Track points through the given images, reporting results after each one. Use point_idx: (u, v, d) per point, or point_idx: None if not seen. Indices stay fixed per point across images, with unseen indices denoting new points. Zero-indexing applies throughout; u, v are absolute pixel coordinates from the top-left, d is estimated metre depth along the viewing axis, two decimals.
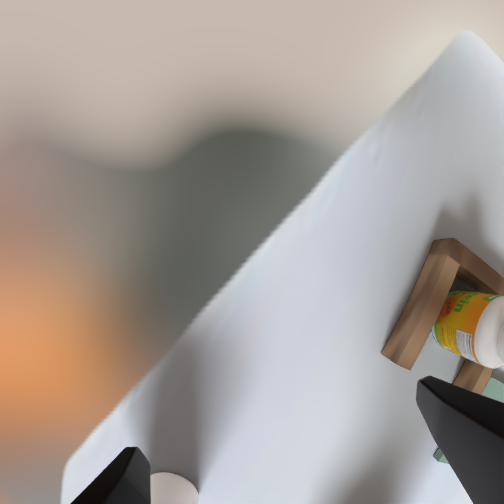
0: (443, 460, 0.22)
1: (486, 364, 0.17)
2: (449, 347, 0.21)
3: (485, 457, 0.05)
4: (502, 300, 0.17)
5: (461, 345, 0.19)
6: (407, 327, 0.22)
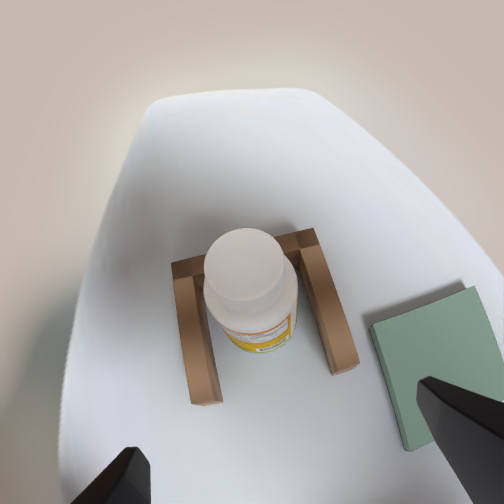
0: (418, 444, 0.17)
1: (251, 328, 0.16)
2: (252, 347, 0.20)
3: (485, 457, 0.05)
4: None
5: (234, 336, 0.19)
6: None
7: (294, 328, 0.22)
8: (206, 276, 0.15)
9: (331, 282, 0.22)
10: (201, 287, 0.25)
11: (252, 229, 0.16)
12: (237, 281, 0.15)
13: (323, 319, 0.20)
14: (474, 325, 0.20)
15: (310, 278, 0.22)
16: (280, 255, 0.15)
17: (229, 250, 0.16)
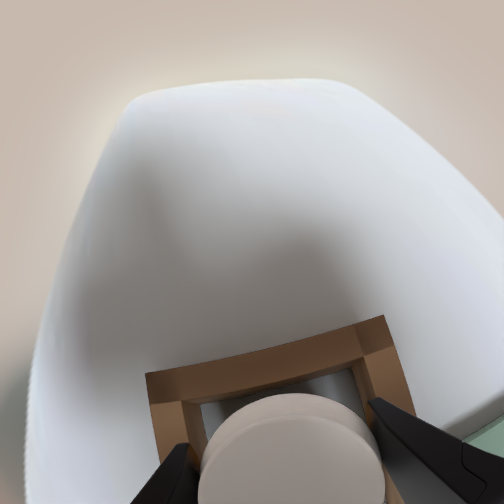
0: None
1: None
2: None
3: (425, 491, 0.05)
4: (216, 431, 0.08)
5: None
6: None
7: None
8: None
9: (412, 411, 0.11)
10: (197, 403, 0.14)
11: (314, 420, 0.06)
12: None
13: None
14: None
15: None
16: (378, 484, 0.05)
17: (255, 474, 0.05)
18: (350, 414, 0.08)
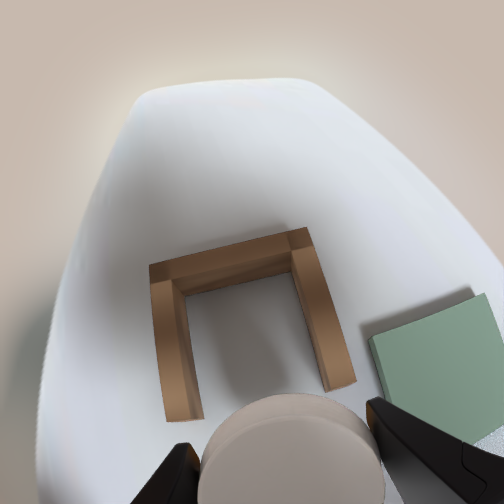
0: None
1: None
2: None
3: (425, 491, 0.05)
4: (216, 431, 0.08)
5: None
6: None
7: None
8: None
9: (326, 289, 0.19)
10: (182, 291, 0.22)
11: (314, 421, 0.06)
12: None
13: (316, 331, 0.18)
14: (484, 337, 0.17)
15: (302, 284, 0.19)
16: (378, 484, 0.05)
17: (255, 474, 0.05)
18: (350, 414, 0.08)
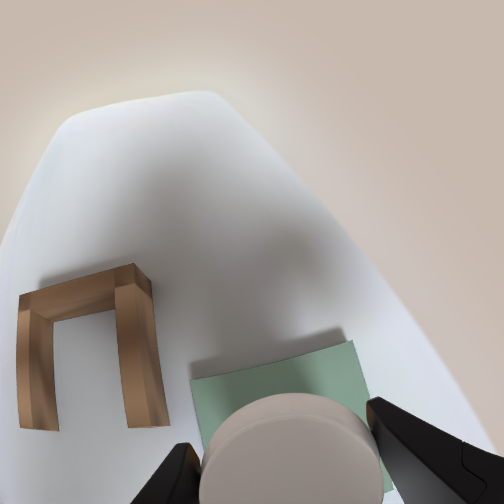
0: None
1: None
2: None
3: (425, 491, 0.05)
4: (217, 431, 0.08)
5: None
6: None
7: None
8: None
9: (135, 329, 0.18)
10: (48, 318, 0.21)
11: (313, 420, 0.06)
12: None
13: (121, 370, 0.17)
14: (340, 396, 0.16)
15: (117, 322, 0.18)
16: (377, 482, 0.05)
17: (256, 472, 0.05)
18: (349, 413, 0.08)
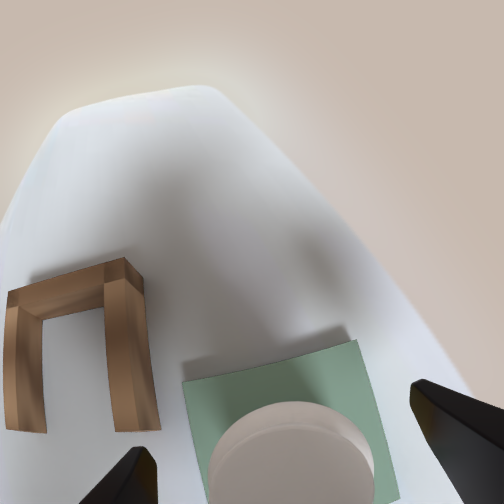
0: None
1: None
2: None
3: (477, 462, 0.05)
4: (222, 437, 0.09)
5: None
6: None
7: None
8: None
9: (124, 327, 0.17)
10: (37, 316, 0.20)
11: (311, 429, 0.06)
12: None
13: (108, 370, 0.15)
14: (344, 400, 0.15)
15: (105, 319, 0.17)
16: (368, 485, 0.05)
17: (260, 477, 0.06)
18: (345, 421, 0.08)
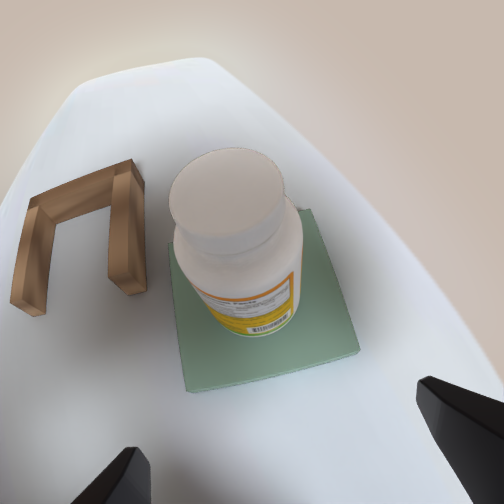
0: (198, 385, 0.17)
1: (237, 289, 0.12)
2: (241, 326, 0.16)
3: (485, 457, 0.05)
4: None
5: (216, 307, 0.14)
6: None
7: (298, 303, 0.17)
8: (171, 207, 0.10)
9: (127, 200, 0.22)
10: (52, 219, 0.25)
11: (239, 148, 0.11)
12: (213, 212, 0.10)
13: (110, 232, 0.20)
14: None
15: (112, 198, 0.22)
16: (277, 177, 0.10)
17: (205, 174, 0.11)
18: None
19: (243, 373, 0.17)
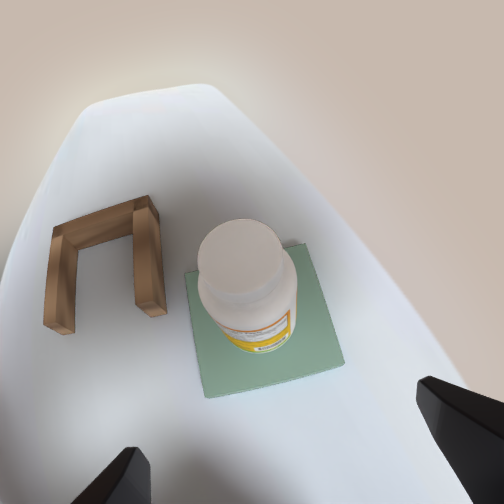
0: (214, 392, 0.21)
1: (248, 324, 0.16)
2: (250, 346, 0.20)
3: (485, 457, 0.05)
4: None
5: (231, 334, 0.18)
6: None
7: (294, 326, 0.21)
8: (200, 269, 0.14)
9: (147, 235, 0.26)
10: (75, 246, 0.29)
11: (249, 219, 0.15)
12: (232, 274, 0.14)
13: (134, 264, 0.24)
14: None
15: (133, 233, 0.26)
16: (278, 246, 0.14)
17: (223, 242, 0.15)
18: None
19: (250, 382, 0.21)
